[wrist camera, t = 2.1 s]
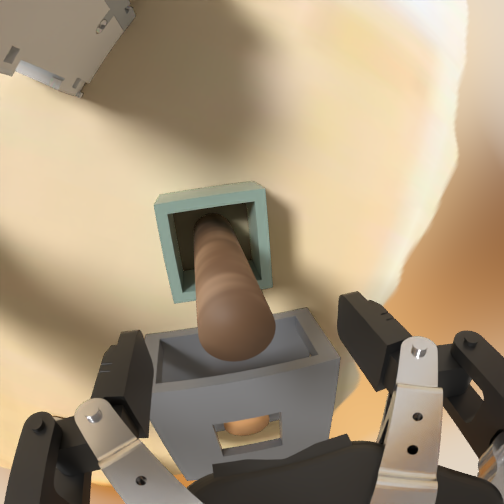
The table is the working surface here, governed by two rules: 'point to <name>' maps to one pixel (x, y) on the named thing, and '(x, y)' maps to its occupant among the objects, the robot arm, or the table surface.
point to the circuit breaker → (60, 39)
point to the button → (247, 426)
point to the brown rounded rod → (228, 295)
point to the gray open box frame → (242, 393)
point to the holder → (206, 198)
